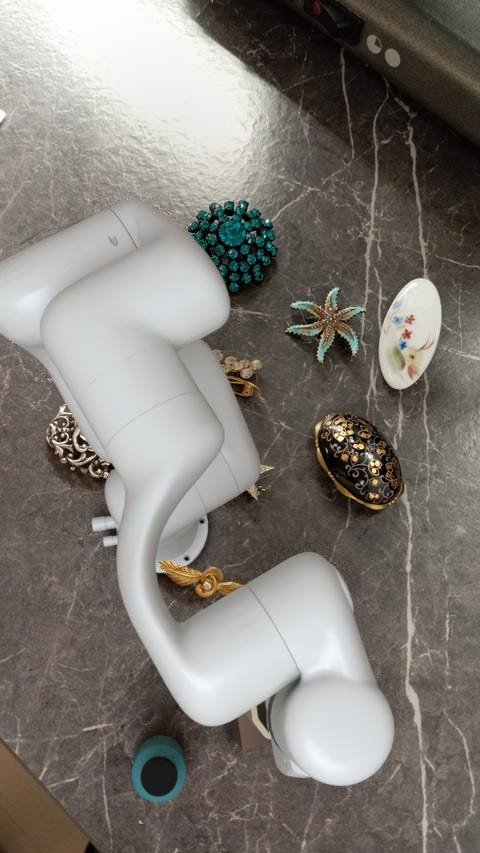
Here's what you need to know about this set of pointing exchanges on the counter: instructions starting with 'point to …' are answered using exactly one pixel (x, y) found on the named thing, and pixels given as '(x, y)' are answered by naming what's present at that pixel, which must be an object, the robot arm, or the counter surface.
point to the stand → (247, 734)
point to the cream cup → (259, 719)
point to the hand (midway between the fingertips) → (288, 705)
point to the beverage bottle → (159, 769)
